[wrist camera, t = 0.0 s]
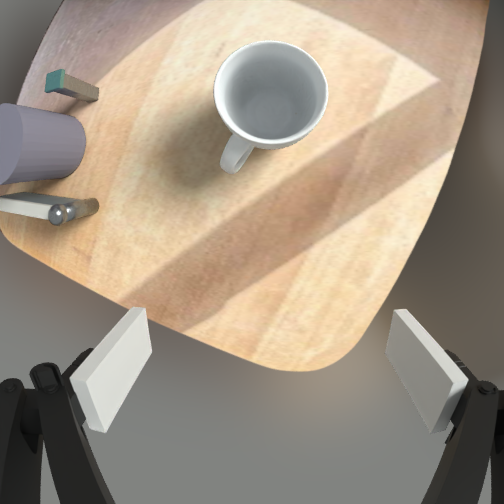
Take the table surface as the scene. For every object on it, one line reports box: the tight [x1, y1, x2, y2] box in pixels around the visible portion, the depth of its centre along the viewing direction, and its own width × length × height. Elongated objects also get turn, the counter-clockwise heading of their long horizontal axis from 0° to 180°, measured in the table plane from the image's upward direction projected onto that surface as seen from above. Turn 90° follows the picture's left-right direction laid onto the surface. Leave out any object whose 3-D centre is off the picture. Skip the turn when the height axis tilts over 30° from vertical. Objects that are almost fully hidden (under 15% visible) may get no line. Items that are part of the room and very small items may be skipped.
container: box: [0, 103, 86, 185], centre depth 33 cm, size 10×10×15 cm
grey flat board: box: [0, 192, 80, 220], centre depth 38 cm, size 14×2×9 cm, turn 80°
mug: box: [213, 40, 328, 174], centre depth 32 cm, size 15×11×13 cm
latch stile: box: [45, 69, 99, 102], centre depth 33 cm, size 3×3×11 cm
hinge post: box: [48, 198, 99, 226], centre depth 37 cm, size 3×3×11 cm
